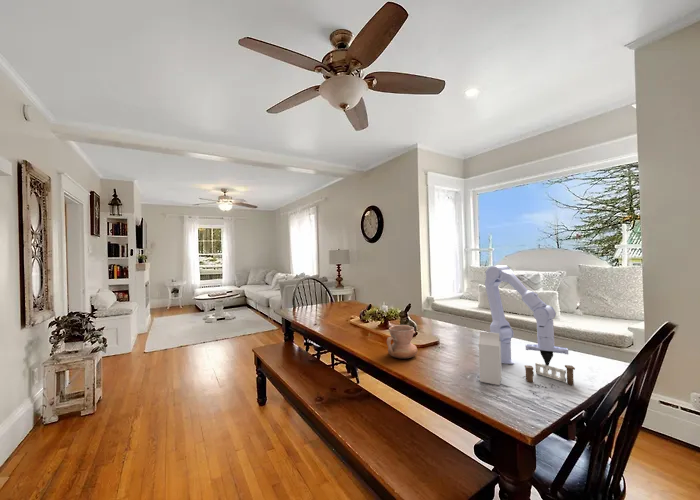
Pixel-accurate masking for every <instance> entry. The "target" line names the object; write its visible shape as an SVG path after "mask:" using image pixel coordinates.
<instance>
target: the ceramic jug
mask: <svg viewBox="0 0 700 500" xmlns="http://www.w3.org/2000/svg"><path fill="white" fill-rule="evenodd" d="M388 332H389V335H390V336H388V337H387V339H386V345H387V347H388V348H387V353H388V354H389V355H390V356H391V357H393V358H395V359H400V360H401V359H403V360H406V359H411V358H413V357H415V356H416V355H417V354H418V348H417V345H415V344H413V343H412V339H413V337H414V334H416V331H415V327H413V326H410V325H409V324H396V325H392V326H390V327H389V328H388ZM392 341H393V342H392ZM391 343H392V344H391Z"/></svg>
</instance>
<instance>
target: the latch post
mask: <svg viewBox="0 0 700 500" xmlns="http://www.w3.org/2000/svg"><path fill="white" fill-rule="evenodd" d="M524 368H525V381H526V382H527V383H534V376H535V373H534V371H533V370H534V367H533V366H532V365H527V364H526V365H524Z"/></svg>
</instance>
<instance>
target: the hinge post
mask: <svg viewBox="0 0 700 500" xmlns="http://www.w3.org/2000/svg"><path fill="white" fill-rule="evenodd" d="M564 367H565V369H566V384H567V385H569V386H574V383H575V382H574V381H575V380H574V370H575V369H576V367H574V366H573V365H568V364H565V365H564Z"/></svg>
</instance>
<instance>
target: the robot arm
mask: <svg viewBox="0 0 700 500" xmlns="http://www.w3.org/2000/svg"><path fill="white" fill-rule="evenodd" d="M502 282H505V283H508V285H510V286H511V287H512V288H513V289H514V290H516V292H517V293H518V294H519V295H520V296H521V301H522V302H523V303H524V304H525V305H526V306H527V307H528V309H529V310H530V311H531V312H533V313H532V316H533V317H534V319H535V320H536V331H537V332H536V335H537V344H530V343H529V344H527V343H525V351H537V352H539V353H540V355H541V357H542V359H543V362H544V365H548V366H550V362H551V361H552V358H553V357H554V353H556V354H564V355H569V349H568V348H567V347H563V346H562V347H561V346H555V332H554V330H555V328H554V319H555V317H556V315H557V314H556V310H555V308H554V307H553V306H552V305H549V304H547V303H546V302H544V301H543V300H542V299H541V298H540V297H539V294H538V293H537V292H534V291H531V290H528V288H527V287H526V286H525V285H524V284H523V283H522V281H521V280H520V279H519V278H518V276H516V275H515V273H514V271H513V270H512V269H511V268H510V267H509V266H508V265H506V264H502V265H501V264H500V265H491V266H489V267H488V268H486V271H485V280H484V285H485V291H486V292H485V293H486V295H487V300H488V305H489V309H490V311H489V312H490V314H491V318H492V319H491V320H492V322H491V323H490V325H489V332H491V333H499V337H500V341H501V364H508V365H514V364H515V362H514V361H513V359H512V346H511V345H512V344H511V343H512V342H511V341H512V338H513V337H514V335H515V333H514V330H513V328H512V327H511V325H510V324H511V323H510V322H509V321H508V320H507V319H506V315H505V311H504V307H503V302H502V298H501V293H500V289H499V285H501V283H502ZM548 371H550V370H549V369H548Z"/></svg>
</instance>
